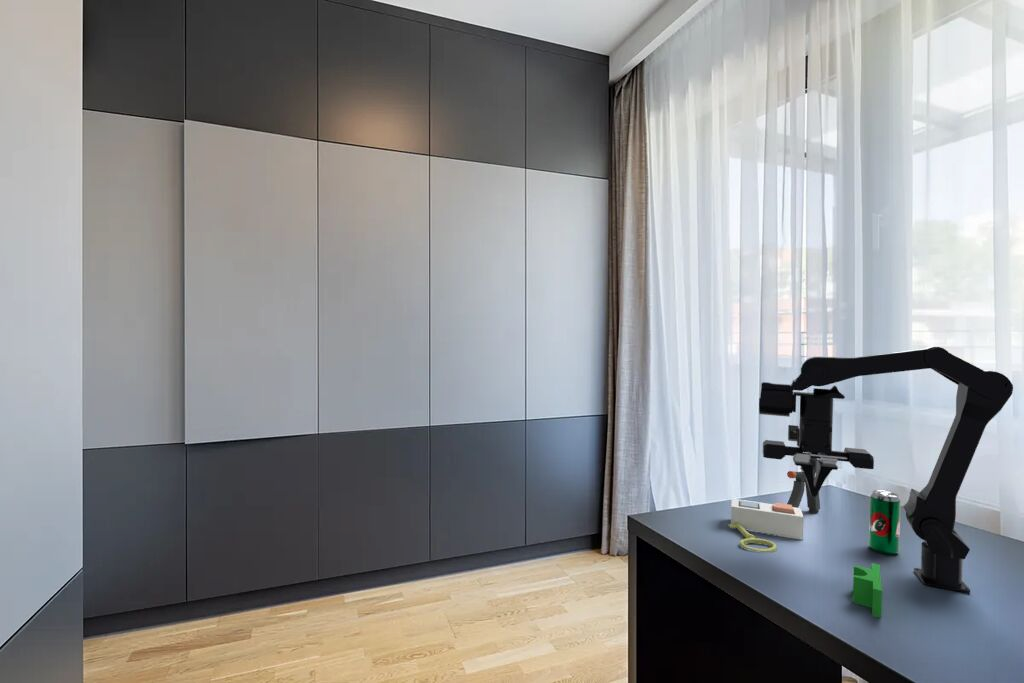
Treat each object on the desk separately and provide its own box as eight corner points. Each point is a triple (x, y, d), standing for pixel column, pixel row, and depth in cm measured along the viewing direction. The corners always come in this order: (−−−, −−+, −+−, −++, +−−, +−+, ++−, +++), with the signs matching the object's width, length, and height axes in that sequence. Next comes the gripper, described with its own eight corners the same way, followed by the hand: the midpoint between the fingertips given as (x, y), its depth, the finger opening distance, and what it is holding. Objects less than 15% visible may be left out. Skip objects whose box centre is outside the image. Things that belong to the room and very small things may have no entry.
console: (802, 539, 109) (803, 517, 109) (730, 528, 115) (731, 506, 115) (799, 529, 115) (800, 508, 115) (731, 519, 121) (731, 498, 121)
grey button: (757, 527, 114) (757, 507, 114) (740, 524, 116) (740, 505, 116) (756, 522, 118) (757, 502, 117) (740, 519, 119) (740, 500, 119)
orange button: (792, 530, 111) (793, 509, 111) (774, 527, 113) (774, 507, 113) (791, 524, 115) (791, 504, 115) (773, 522, 116) (773, 502, 116)
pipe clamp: (853, 584, 90) (854, 558, 90) (878, 590, 88) (879, 564, 88) (852, 611, 81) (853, 582, 81) (881, 619, 79) (882, 590, 79)
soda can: (903, 557, 101) (905, 498, 101) (873, 553, 103) (875, 495, 103) (893, 547, 106) (895, 491, 106) (865, 543, 108) (866, 488, 108)
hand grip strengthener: (781, 517, 123) (782, 456, 123) (811, 510, 129) (813, 451, 129) (790, 520, 121) (791, 458, 121) (820, 513, 127) (822, 453, 127)
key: (737, 530, 115) (737, 521, 115) (781, 552, 104) (782, 542, 104) (711, 533, 113) (711, 524, 113) (754, 557, 101) (754, 546, 101)
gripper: (862, 417, 105) (860, 492, 105) (762, 410, 112) (760, 479, 113) (875, 425, 94) (873, 508, 95) (764, 417, 102) (762, 493, 102)
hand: (813, 496), depth 101 cm, fingers closed
